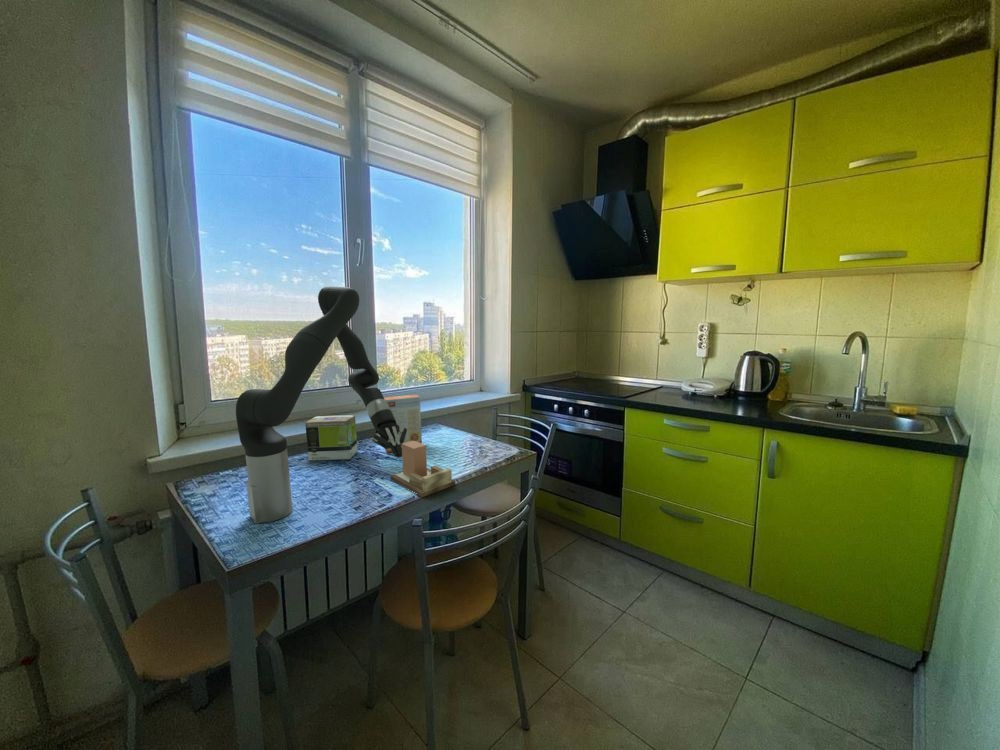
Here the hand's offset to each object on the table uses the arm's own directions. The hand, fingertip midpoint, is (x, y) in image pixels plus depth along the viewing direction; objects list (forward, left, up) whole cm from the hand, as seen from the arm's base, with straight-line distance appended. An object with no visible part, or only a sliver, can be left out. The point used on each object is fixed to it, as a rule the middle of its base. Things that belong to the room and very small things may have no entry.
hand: (400, 456), depth 129 cm
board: (0, -13, -5) cm, 14 cm away
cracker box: (+13, +20, -5) cm, 25 cm away
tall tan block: (0, -9, -4) cm, 9 cm away
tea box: (-10, +31, -5) cm, 33 cm away
